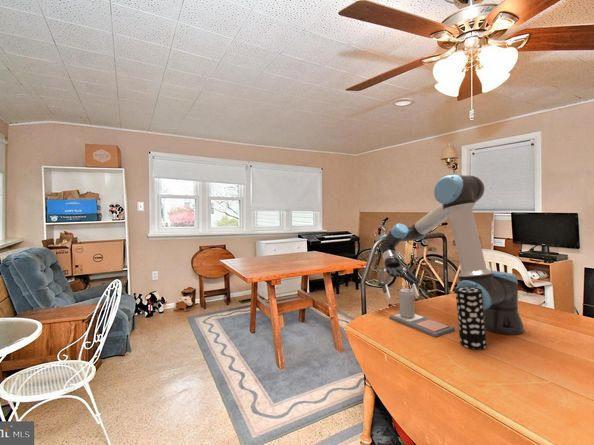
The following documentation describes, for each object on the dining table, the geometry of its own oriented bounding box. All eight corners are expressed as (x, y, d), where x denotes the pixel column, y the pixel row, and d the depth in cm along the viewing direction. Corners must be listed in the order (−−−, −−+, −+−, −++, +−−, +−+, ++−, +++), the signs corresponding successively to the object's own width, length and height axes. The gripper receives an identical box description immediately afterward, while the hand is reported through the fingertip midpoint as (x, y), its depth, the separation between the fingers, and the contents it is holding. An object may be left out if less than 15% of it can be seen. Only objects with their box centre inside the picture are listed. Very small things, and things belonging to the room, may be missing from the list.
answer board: (454, 330, 117) (454, 326, 117) (435, 337, 111) (435, 333, 111) (407, 313, 138) (407, 310, 138) (389, 318, 132) (389, 315, 132)
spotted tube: (478, 351, 99) (473, 294, 98) (455, 343, 106) (450, 290, 106) (491, 344, 102) (486, 289, 102) (468, 336, 110) (464, 285, 109)
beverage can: (415, 319, 126) (414, 292, 126) (400, 318, 128) (399, 291, 127) (414, 314, 132) (413, 288, 132) (399, 313, 134) (398, 288, 134)
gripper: (412, 263, 152) (426, 300, 138) (366, 265, 152) (375, 302, 137) (417, 255, 147) (431, 292, 132) (368, 257, 146) (378, 294, 132)
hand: (403, 297), depth 135 cm, fingers open, 13 cm apart
